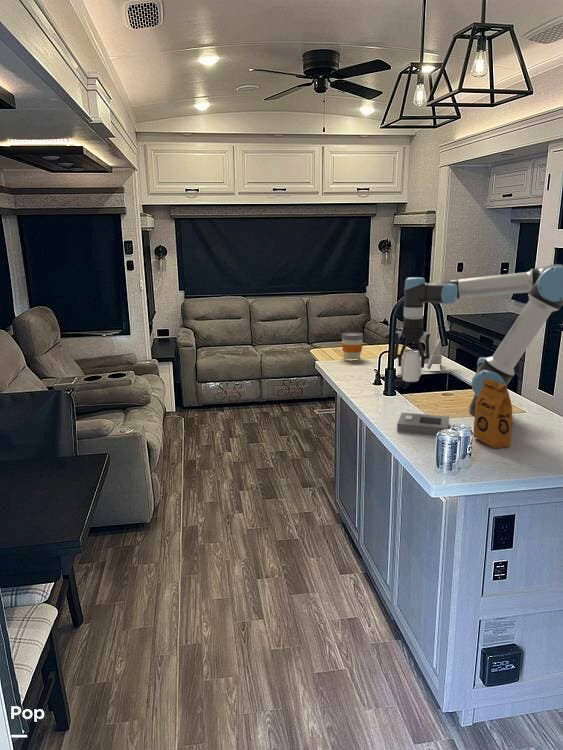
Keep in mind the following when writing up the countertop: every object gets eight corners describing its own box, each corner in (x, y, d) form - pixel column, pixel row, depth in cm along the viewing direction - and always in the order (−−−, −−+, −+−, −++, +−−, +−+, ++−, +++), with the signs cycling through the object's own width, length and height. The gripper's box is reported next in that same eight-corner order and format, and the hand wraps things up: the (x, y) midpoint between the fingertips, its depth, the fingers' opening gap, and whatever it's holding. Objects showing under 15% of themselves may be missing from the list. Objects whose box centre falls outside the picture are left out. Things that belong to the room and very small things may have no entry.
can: (419, 382, 219) (420, 352, 216) (402, 381, 221) (403, 352, 218) (418, 378, 225) (420, 349, 222) (402, 377, 227) (403, 349, 224)
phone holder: (422, 364, 312) (424, 332, 308) (441, 365, 309) (443, 333, 305) (421, 371, 296) (423, 338, 291) (441, 372, 293) (443, 338, 289)
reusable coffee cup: (339, 357, 331) (339, 332, 328) (359, 356, 333) (360, 331, 329) (343, 361, 319) (344, 336, 315) (365, 361, 320) (365, 335, 317)
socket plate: (448, 423, 214) (449, 415, 213) (447, 436, 201) (448, 426, 201) (401, 419, 220) (401, 410, 219) (397, 431, 207) (397, 422, 206)
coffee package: (490, 450, 188) (495, 387, 183) (468, 438, 200) (473, 378, 194) (515, 447, 191) (521, 385, 185) (492, 435, 202) (498, 376, 197)
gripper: (439, 317, 217) (436, 374, 223) (389, 315, 223) (387, 371, 229) (438, 319, 210) (435, 378, 216) (387, 318, 216) (385, 375, 222)
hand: (410, 374), depth 222 cm, fingers closed on can, 6 cm apart
